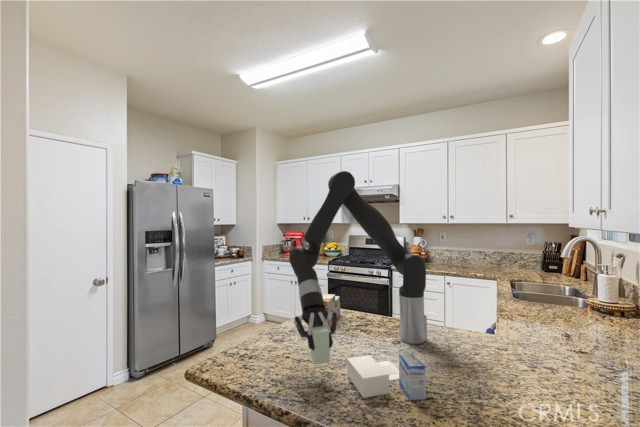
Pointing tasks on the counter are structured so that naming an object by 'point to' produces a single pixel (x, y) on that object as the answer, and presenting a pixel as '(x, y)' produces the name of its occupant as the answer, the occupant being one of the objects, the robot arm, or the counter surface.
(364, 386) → the base brick
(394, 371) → the page
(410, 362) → the medicine box
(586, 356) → the counter surface
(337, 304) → the printed cardboard box
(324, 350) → the sage brick
